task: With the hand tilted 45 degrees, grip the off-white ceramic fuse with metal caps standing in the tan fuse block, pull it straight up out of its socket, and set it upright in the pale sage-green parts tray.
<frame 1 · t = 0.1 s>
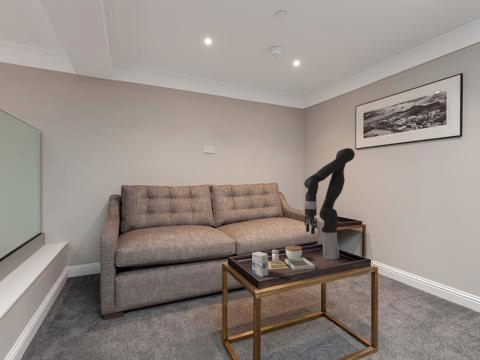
hand: (310, 232, 164), 17 cm above the table, tool pointing down, fingers open, 8 cm apart
lidded jar: (294, 259, 165), on the table
blown fuse: (275, 265, 150), point 1 cm above the table, touching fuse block
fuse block: (275, 266, 150), on the table
parts tray: (299, 266, 150), on the table
ink box: (260, 275, 136), on the table
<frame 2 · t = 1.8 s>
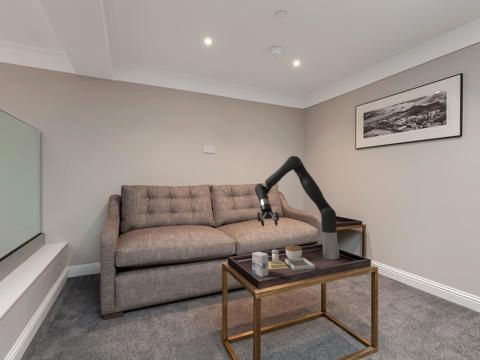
hand: (270, 225, 162), 23 cm above the table, tool tilted 45°, fingers open, 8 cm apart
nothing on the table moved.
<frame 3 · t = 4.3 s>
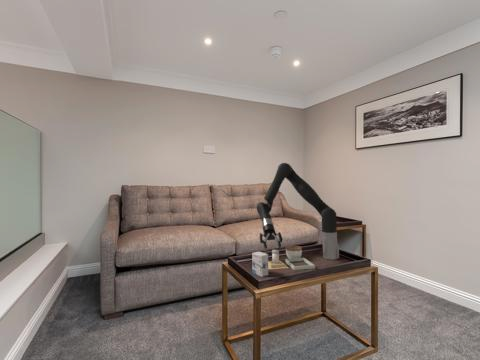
hand: (273, 247, 155), 10 cm above the table, tool tilted 45°, fingers open, 8 cm apart
nothing on the table moved.
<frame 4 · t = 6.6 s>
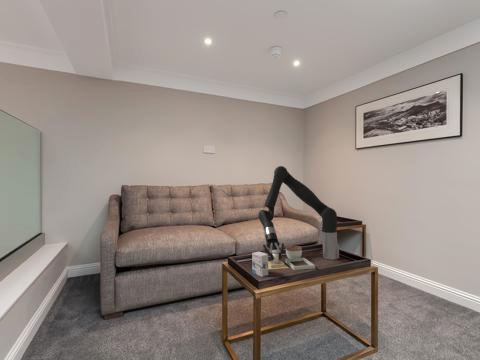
hand: (276, 259, 148), 5 cm above the table, tool tilted 45°, fingers closed on blown fuse, 4 cm apart
blown fuse: (275, 265, 150), point 1 cm above the table, touching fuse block, gripper
everything else where it was.
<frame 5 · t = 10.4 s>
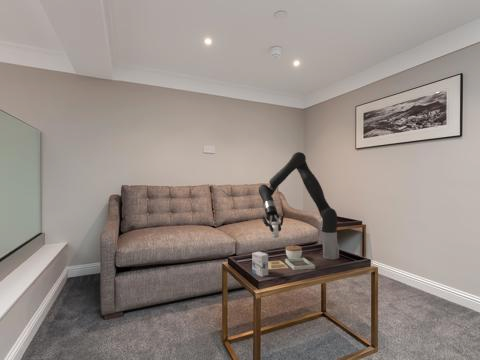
hand: (276, 230, 149), 22 cm above the table, tool tilted 45°, fingers closed on blown fuse, 4 cm apart
blown fuse: (275, 237, 151), point 18 cm above the table, touching gripper
everything else where it was.
when the fingers open (7 cm above the table, at t = 14.6 s): blown fuse drops 2 cm, resting on parts tray.
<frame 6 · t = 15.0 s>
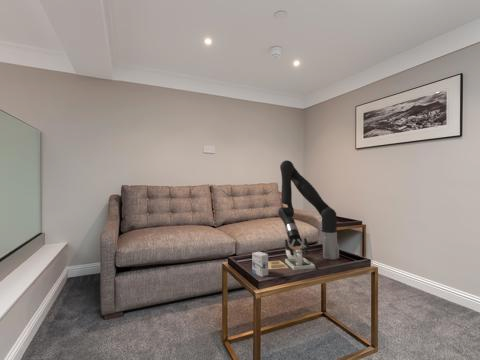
hand: (299, 254, 148), 7 cm above the table, tool tilted 45°, fingers open, 8 cm apart
blown fuse: (299, 265, 150), point 1 cm above the table, touching parts tray
everything else where it was.
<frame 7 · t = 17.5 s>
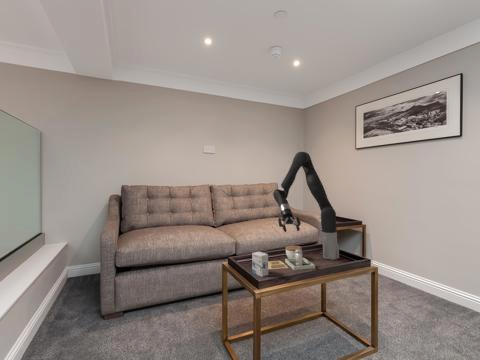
hand: (292, 230, 161), 19 cm above the table, tool tilted 45°, fingers open, 8 cm apart
nothing on the table moved.
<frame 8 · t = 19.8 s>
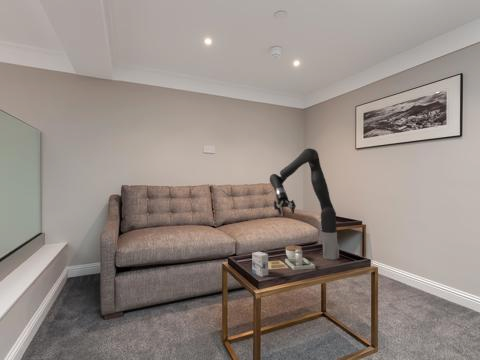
hand: (287, 213, 164), 31 cm above the table, tool tilted 45°, fingers open, 8 cm apart
nothing on the table moved.
at the end: blown fuse inside the target area on the parts tray (0.1 cm from its centre), point 0.6 cm above the parts tray's base; blown fuse tilted 0°; the gripper is holding nothing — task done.
